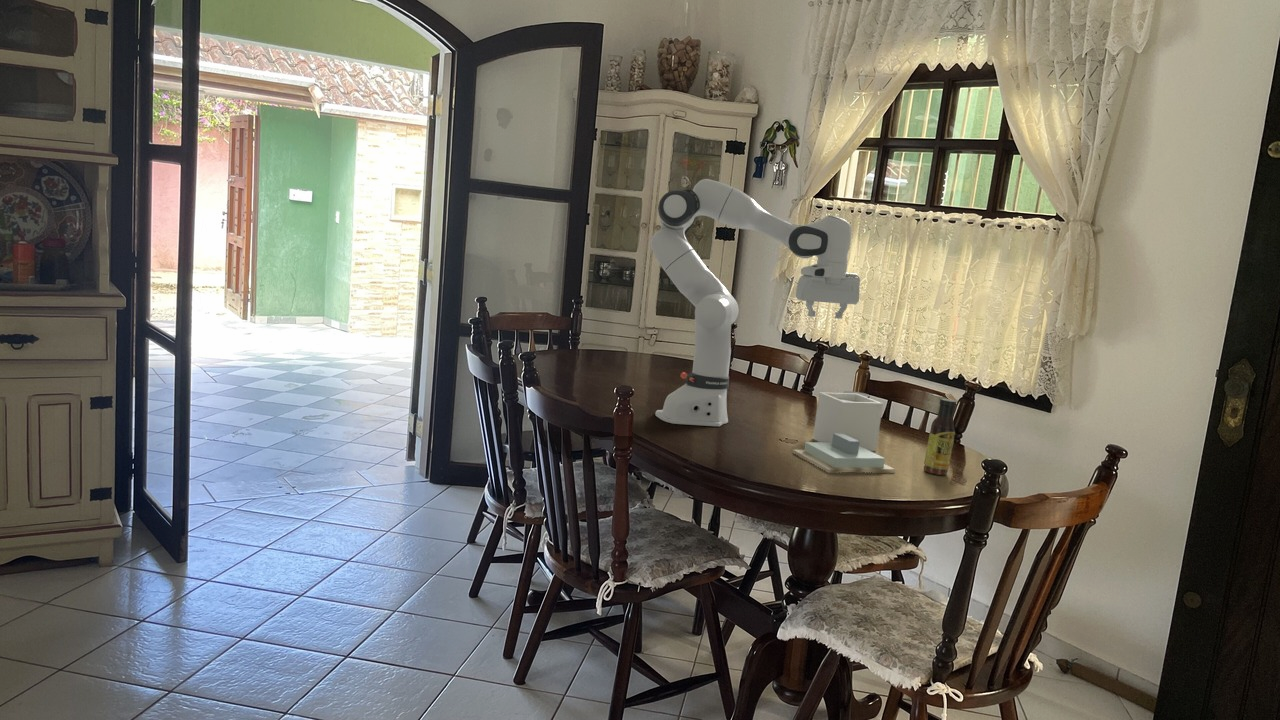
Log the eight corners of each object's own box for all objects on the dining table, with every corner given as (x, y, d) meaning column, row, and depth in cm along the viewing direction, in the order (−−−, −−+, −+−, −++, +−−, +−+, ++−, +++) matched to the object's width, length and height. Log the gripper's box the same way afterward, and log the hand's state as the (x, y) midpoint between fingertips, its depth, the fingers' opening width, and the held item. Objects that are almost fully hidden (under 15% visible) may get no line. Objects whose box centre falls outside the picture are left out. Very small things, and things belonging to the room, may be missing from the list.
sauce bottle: (934, 476, 221) (946, 402, 218) (917, 469, 227) (929, 397, 224) (953, 476, 224) (965, 402, 221) (936, 468, 230) (948, 397, 226)
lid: (834, 467, 216) (837, 444, 215) (804, 451, 230) (807, 429, 229) (883, 467, 221) (887, 445, 220) (851, 451, 235) (854, 430, 234)
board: (828, 473, 214) (828, 469, 214) (793, 453, 231) (793, 449, 231) (894, 472, 221) (895, 469, 221) (855, 453, 238) (856, 450, 238)
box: (836, 450, 238) (843, 402, 236) (812, 438, 250) (819, 392, 248) (875, 451, 243) (883, 403, 241) (850, 439, 255) (857, 393, 253)
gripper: (854, 273, 260) (848, 318, 262) (796, 268, 253) (790, 314, 255) (866, 275, 254) (860, 320, 256) (807, 269, 247) (801, 316, 249)
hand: (824, 317), depth 255 cm, fingers open, 8 cm apart
